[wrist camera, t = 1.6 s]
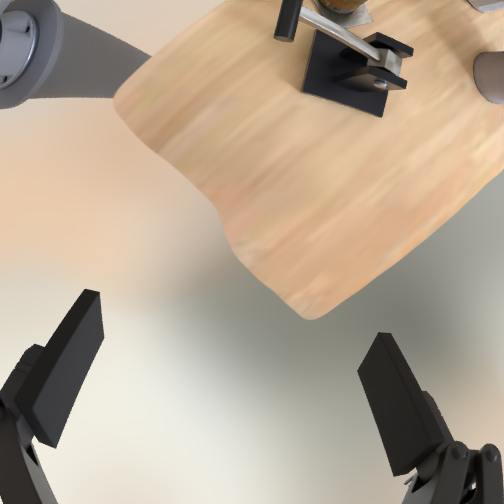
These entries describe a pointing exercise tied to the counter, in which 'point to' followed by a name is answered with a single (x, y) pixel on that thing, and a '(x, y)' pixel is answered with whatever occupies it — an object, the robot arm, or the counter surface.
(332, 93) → the bracket
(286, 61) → the counter surface
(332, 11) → the condiment
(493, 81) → the pillar candle
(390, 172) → the counter surface
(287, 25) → the lever
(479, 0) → the water bottle
